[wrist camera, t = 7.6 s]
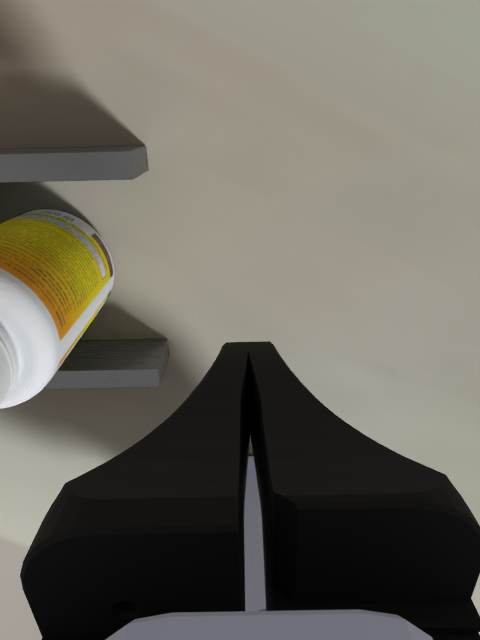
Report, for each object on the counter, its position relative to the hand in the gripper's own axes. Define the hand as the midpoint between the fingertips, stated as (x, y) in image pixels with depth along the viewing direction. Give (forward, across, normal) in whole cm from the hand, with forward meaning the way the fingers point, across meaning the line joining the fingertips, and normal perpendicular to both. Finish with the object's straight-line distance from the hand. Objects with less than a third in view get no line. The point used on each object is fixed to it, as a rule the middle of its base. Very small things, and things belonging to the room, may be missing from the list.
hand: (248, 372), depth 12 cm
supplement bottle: (+10, +9, 0) cm, 14 cm away
